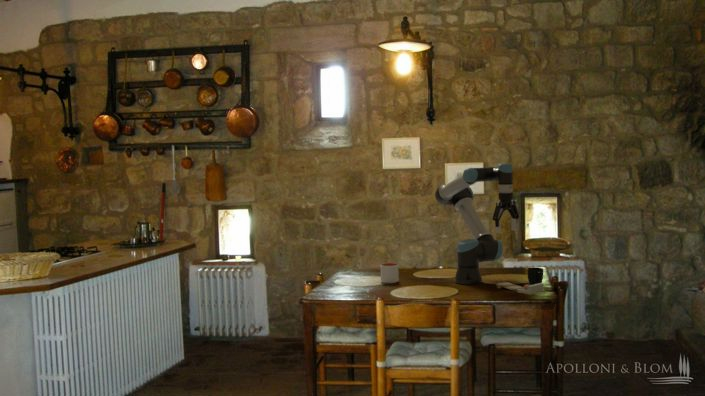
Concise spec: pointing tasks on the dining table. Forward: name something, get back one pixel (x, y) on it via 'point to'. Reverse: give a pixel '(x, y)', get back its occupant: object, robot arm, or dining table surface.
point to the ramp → (508, 286)
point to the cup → (389, 273)
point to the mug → (535, 275)
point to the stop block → (532, 289)
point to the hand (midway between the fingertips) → (506, 231)
